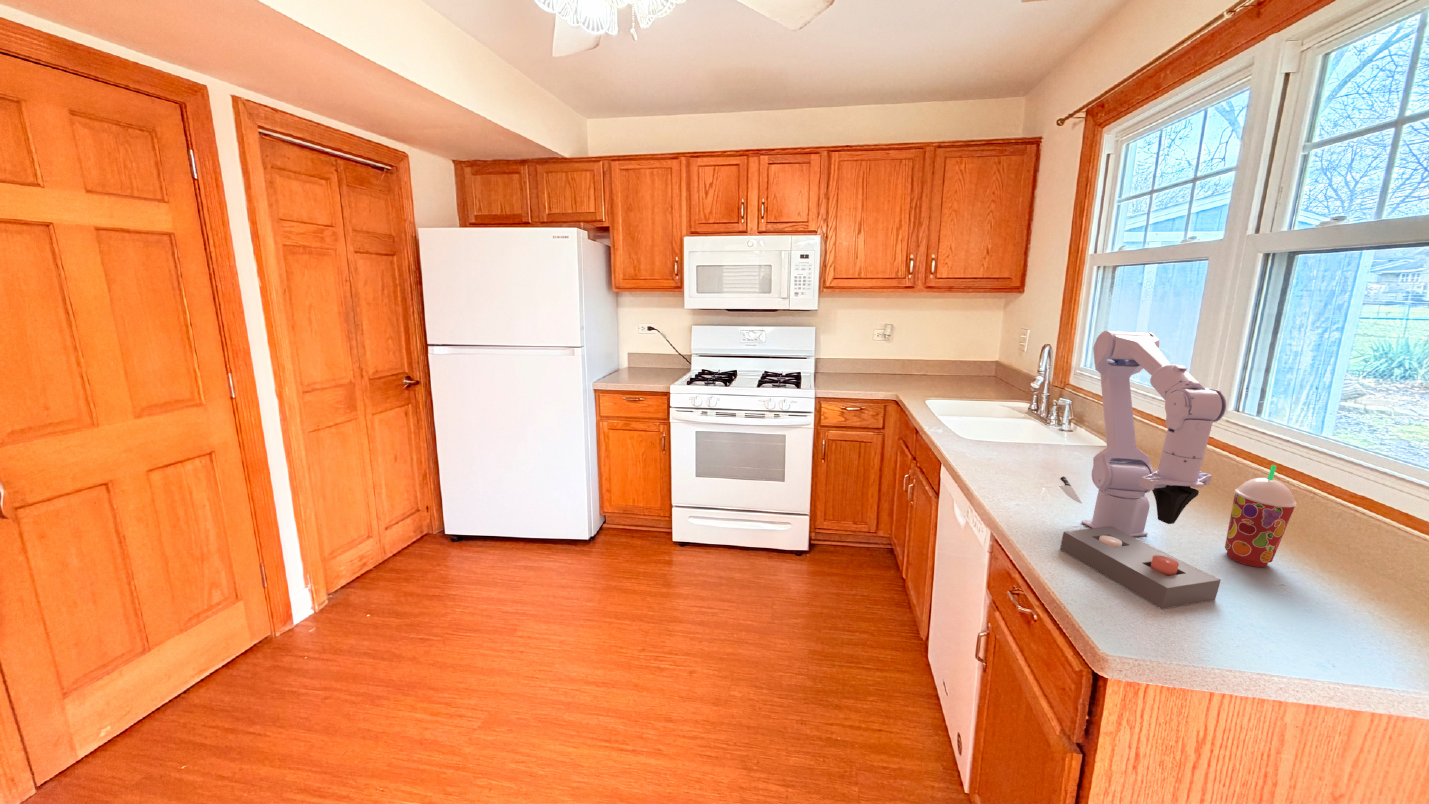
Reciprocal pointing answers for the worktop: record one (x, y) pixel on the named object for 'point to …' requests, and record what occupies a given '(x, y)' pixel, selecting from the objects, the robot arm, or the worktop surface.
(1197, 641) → the worktop surface
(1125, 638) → the worktop surface
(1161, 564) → the red button
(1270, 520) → the smoothie
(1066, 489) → the chef's knife
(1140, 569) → the block
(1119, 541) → the beige button
